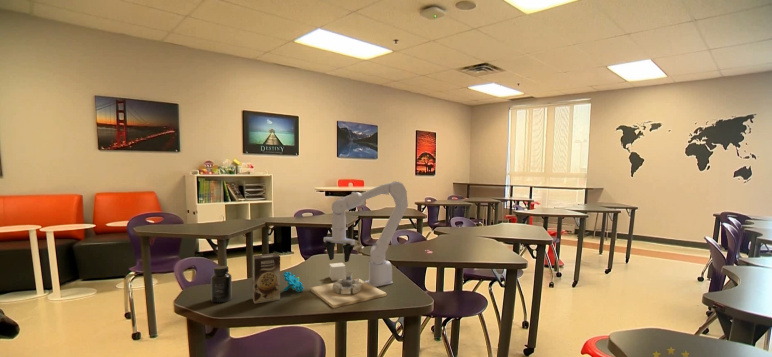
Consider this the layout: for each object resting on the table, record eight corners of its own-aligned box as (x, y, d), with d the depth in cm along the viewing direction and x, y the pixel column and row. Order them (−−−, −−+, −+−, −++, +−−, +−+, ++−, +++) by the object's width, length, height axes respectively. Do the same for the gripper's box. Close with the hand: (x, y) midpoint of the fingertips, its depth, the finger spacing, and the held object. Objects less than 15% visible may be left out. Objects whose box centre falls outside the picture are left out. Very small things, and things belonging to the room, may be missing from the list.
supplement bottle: (235, 298, 127) (235, 265, 127) (221, 304, 121) (221, 270, 121) (221, 295, 130) (221, 264, 130) (206, 302, 123) (206, 269, 123)
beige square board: (358, 280, 148) (358, 270, 148) (386, 295, 130) (386, 283, 130) (309, 290, 136) (309, 278, 136) (333, 308, 118) (333, 295, 118)
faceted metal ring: (360, 294, 128) (360, 284, 128) (331, 294, 128) (331, 284, 127) (363, 280, 144) (363, 272, 144) (336, 280, 144) (336, 272, 144)
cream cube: (332, 281, 148) (332, 267, 148) (329, 277, 154) (329, 263, 154) (345, 279, 150) (345, 265, 150) (342, 275, 156) (342, 262, 156)
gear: (299, 291, 129) (282, 272, 131) (288, 303, 129) (271, 283, 131) (308, 286, 140) (292, 268, 142) (298, 296, 140) (282, 278, 142)
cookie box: (254, 304, 121) (254, 258, 121) (252, 298, 127) (252, 255, 127) (280, 299, 126) (280, 256, 125) (277, 294, 131) (277, 252, 131)
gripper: (358, 228, 144) (358, 260, 144) (330, 225, 150) (330, 256, 150) (349, 230, 138) (349, 264, 138) (320, 227, 144) (320, 260, 144)
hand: (339, 260), depth 144 cm, fingers open, 7 cm apart
